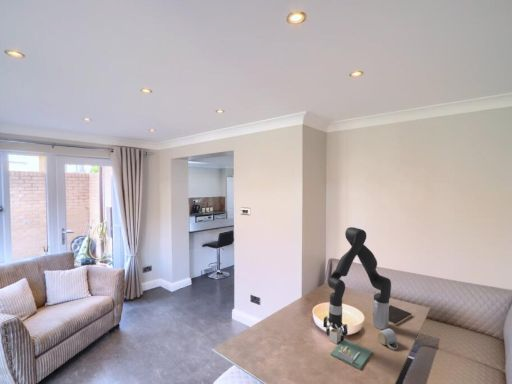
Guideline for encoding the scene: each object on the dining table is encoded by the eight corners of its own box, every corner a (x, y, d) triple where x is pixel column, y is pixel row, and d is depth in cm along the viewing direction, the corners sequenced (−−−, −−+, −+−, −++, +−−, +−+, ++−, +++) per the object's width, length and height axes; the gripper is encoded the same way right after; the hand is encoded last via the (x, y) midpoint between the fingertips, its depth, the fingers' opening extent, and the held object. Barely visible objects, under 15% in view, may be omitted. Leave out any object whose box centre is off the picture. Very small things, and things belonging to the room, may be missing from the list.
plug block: (333, 337, 157) (333, 327, 156) (340, 340, 154) (340, 330, 153) (329, 341, 153) (329, 330, 153) (336, 344, 150) (336, 333, 150)
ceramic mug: (376, 340, 153) (376, 328, 153) (386, 338, 156) (386, 325, 156) (390, 352, 144) (391, 338, 143) (401, 348, 146) (402, 336, 146)
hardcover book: (412, 316, 183) (412, 313, 183) (395, 326, 170) (395, 323, 170) (389, 307, 196) (389, 304, 196) (372, 316, 183) (372, 313, 183)
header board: (344, 340, 153) (344, 329, 153) (372, 352, 143) (372, 341, 142) (330, 355, 140) (330, 343, 140) (359, 369, 129) (360, 357, 129)
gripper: (349, 313, 150) (349, 340, 151) (327, 305, 160) (326, 330, 161) (344, 318, 145) (343, 346, 145) (321, 309, 155) (321, 335, 155)
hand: (334, 337), depth 153 cm, fingers open, 8 cm apart
